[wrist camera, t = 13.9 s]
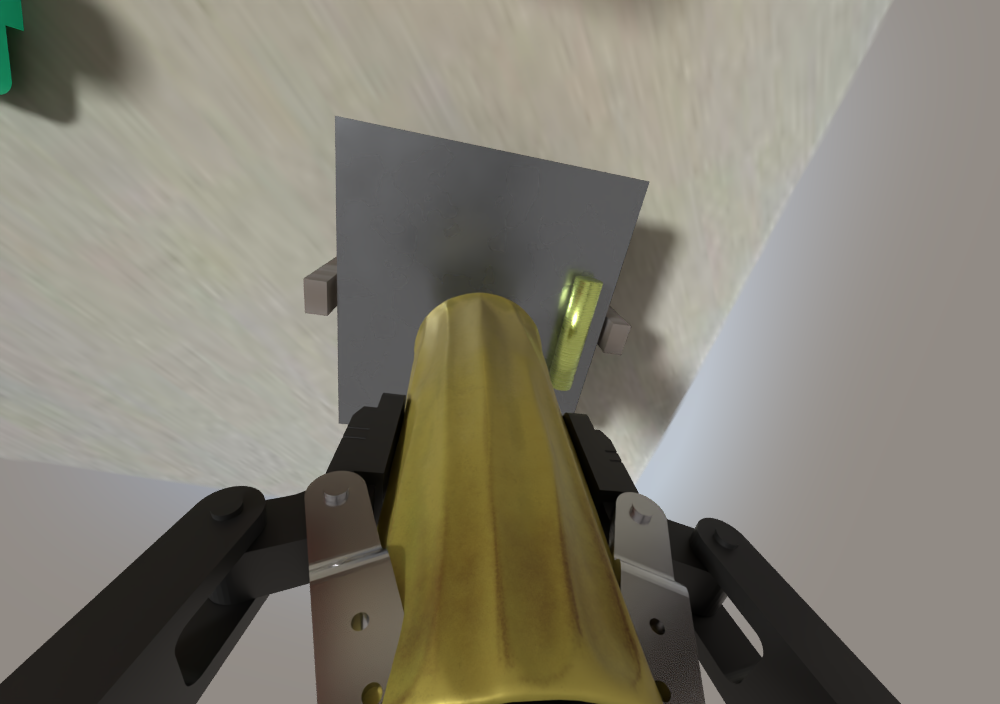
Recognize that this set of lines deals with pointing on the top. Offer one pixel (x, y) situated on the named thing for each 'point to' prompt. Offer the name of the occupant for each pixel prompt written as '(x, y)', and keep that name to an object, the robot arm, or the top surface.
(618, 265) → the tilt plate
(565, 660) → the vase
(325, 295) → the levelling stand
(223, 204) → the top surface
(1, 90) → the camera mount
